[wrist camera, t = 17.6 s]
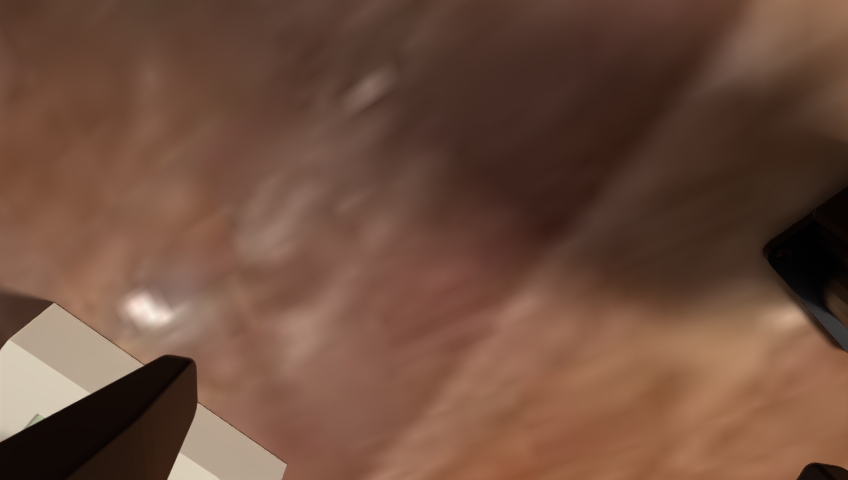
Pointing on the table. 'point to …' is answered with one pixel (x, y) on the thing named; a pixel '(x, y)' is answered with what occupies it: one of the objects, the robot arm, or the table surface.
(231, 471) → the baseplate
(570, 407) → the table surface
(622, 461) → the table surface
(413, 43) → the table surface
